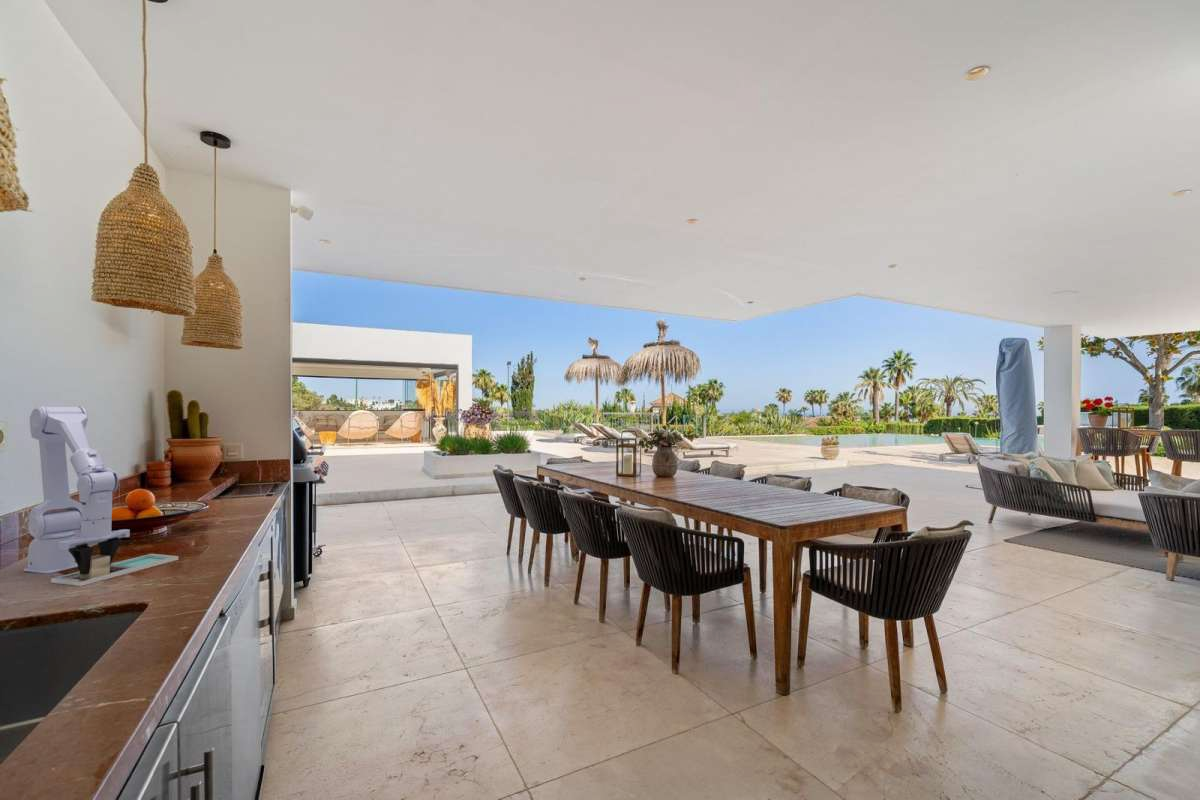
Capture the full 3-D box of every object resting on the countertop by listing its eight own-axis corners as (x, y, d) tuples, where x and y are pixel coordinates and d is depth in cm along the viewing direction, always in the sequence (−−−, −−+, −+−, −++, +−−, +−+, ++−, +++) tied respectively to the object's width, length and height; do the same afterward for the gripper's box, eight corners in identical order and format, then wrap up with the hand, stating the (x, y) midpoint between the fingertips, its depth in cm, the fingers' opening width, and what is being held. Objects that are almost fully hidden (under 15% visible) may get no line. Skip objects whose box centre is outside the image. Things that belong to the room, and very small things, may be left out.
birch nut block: (79, 578, 134) (80, 558, 134) (98, 573, 138) (98, 554, 138) (91, 579, 133) (92, 559, 133) (109, 575, 137) (110, 555, 137)
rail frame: (50, 582, 130) (50, 578, 130) (151, 557, 153) (151, 553, 153) (80, 586, 128) (80, 581, 128) (178, 559, 151) (178, 556, 151)
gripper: (74, 525, 128) (72, 581, 127) (139, 513, 142) (137, 564, 141) (53, 523, 129) (51, 578, 129) (119, 512, 143) (117, 562, 143)
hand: (95, 571), depth 135 cm, fingers closed on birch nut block, 4 cm apart
